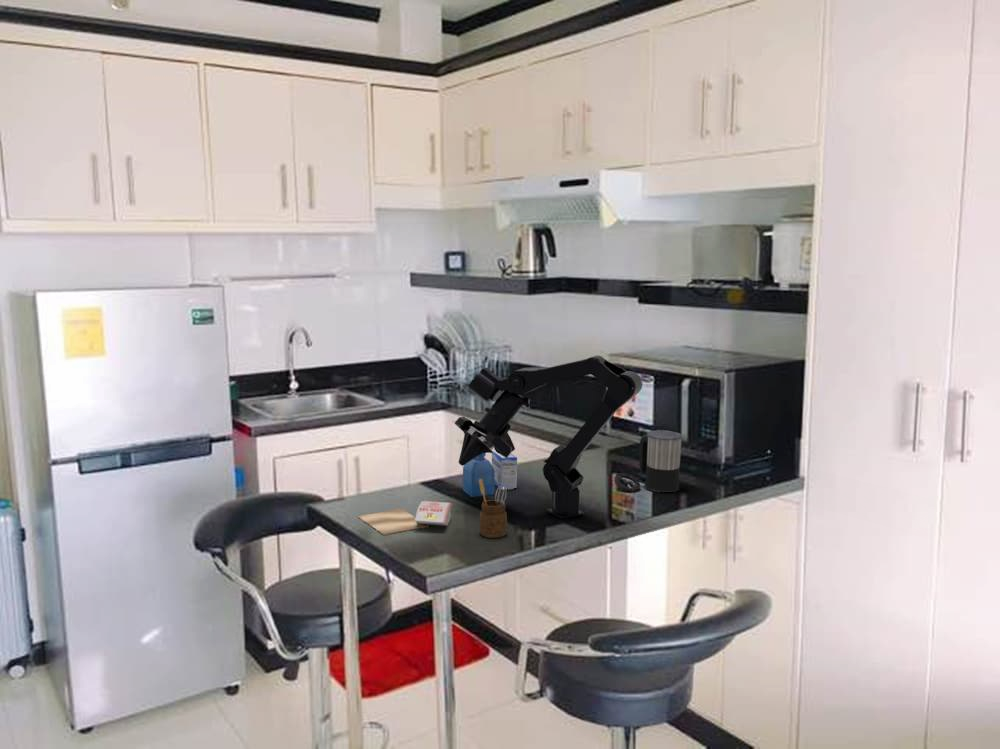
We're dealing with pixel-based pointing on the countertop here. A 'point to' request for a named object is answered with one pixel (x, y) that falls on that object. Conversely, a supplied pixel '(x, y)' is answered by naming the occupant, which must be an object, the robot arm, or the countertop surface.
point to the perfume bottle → (478, 476)
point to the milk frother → (656, 463)
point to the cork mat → (392, 521)
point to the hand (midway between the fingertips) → (460, 464)
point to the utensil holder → (492, 516)
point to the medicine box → (504, 470)
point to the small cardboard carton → (433, 513)
